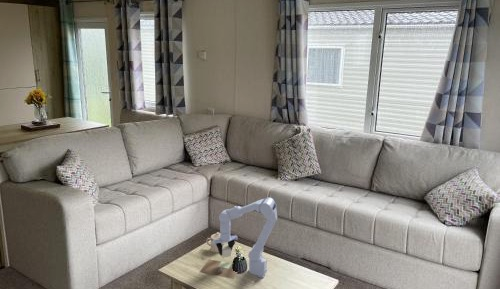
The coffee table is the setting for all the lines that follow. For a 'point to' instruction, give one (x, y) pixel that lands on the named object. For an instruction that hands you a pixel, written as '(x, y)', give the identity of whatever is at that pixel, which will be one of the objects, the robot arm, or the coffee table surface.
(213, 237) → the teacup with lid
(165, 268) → the coffee table surface
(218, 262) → the board
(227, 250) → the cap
